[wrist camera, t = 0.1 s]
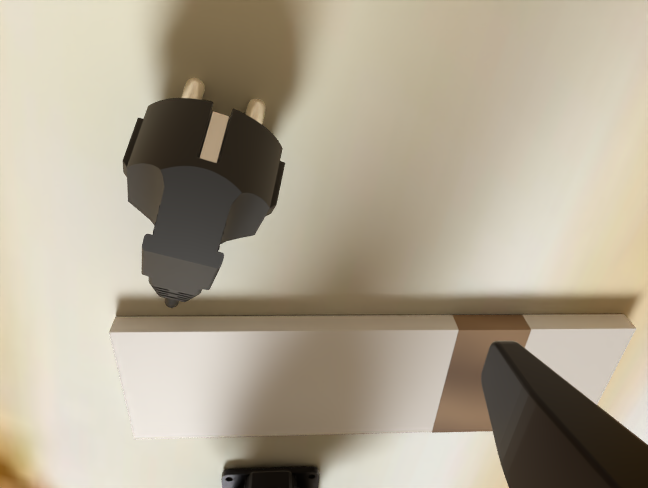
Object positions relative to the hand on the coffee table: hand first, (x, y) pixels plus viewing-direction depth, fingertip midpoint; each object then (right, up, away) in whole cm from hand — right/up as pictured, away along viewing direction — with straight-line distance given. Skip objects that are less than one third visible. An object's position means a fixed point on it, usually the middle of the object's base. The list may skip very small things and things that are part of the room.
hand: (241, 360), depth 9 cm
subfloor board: (+4, -5, +21) cm, 22 cm away
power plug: (-4, +4, +15) cm, 16 cm away
